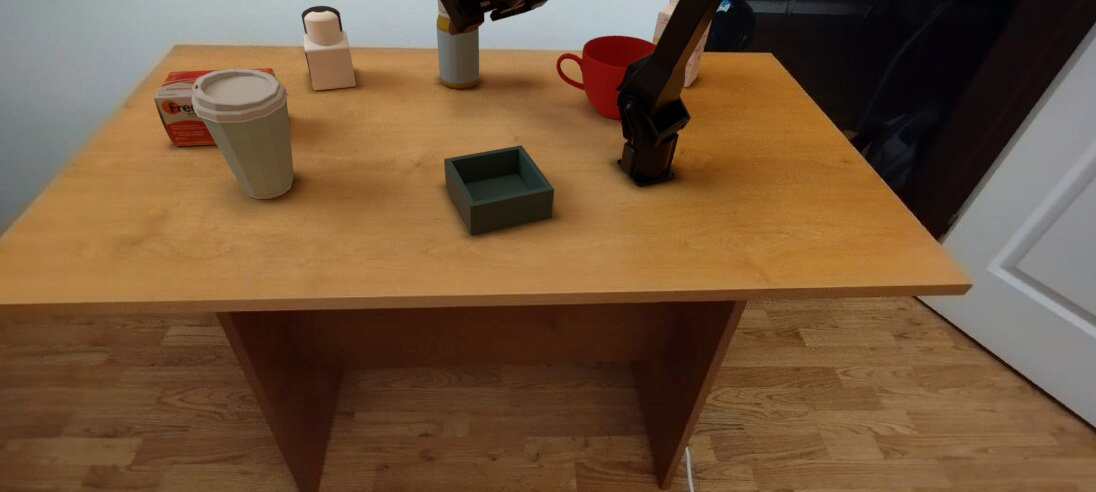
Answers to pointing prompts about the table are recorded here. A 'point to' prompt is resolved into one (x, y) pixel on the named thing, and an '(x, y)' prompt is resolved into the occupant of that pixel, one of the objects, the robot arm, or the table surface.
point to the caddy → (498, 189)
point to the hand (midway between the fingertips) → (471, 25)
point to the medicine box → (184, 109)
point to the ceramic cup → (605, 69)
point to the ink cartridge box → (696, 57)
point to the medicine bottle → (327, 49)
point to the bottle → (457, 54)
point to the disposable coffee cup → (248, 127)
